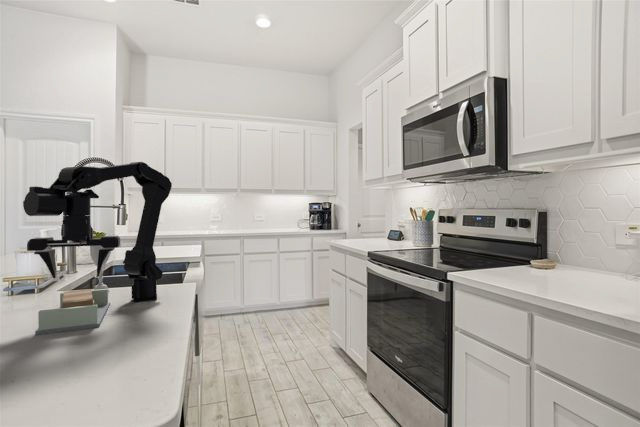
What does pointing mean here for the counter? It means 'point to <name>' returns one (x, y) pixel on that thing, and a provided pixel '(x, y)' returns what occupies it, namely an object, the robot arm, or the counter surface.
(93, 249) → the chalice
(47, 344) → the counter surface
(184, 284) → the counter surface
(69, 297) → the shelf board
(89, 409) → the counter surface
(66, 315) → the peg cradle
